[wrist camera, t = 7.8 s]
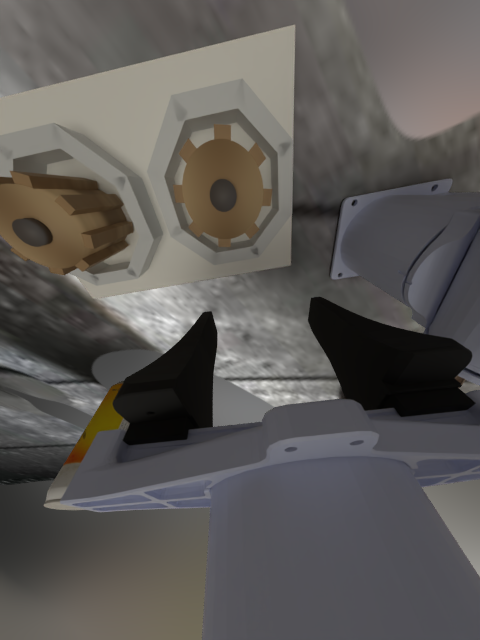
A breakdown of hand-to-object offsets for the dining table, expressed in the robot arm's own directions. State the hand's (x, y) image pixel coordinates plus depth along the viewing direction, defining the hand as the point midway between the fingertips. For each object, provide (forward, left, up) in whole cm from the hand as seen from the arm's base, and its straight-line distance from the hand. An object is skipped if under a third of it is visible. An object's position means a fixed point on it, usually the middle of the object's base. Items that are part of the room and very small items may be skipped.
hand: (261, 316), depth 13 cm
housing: (+7, -7, -9) cm, 13 cm away
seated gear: (+12, -7, -7) cm, 16 cm away
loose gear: (+1, -7, -7) cm, 11 cm away
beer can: (+25, +19, -9) cm, 32 cm away
